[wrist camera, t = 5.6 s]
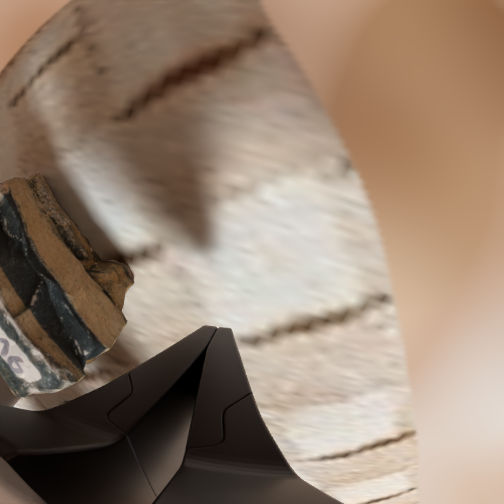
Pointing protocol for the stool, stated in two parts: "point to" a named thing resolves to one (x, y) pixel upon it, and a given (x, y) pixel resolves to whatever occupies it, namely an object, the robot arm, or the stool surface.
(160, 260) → the stool surface
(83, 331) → the rock
